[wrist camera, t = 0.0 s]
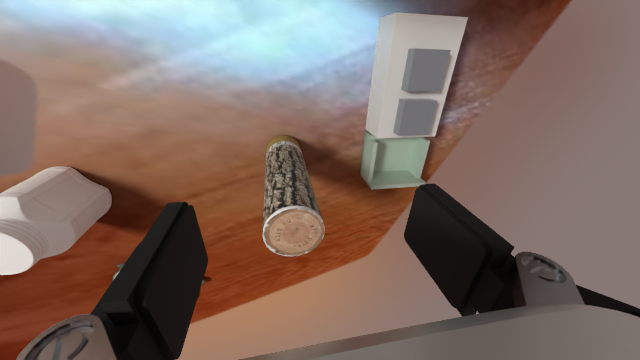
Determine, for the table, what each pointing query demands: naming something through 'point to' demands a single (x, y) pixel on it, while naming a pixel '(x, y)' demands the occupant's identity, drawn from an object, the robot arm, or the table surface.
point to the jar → (47, 216)
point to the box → (393, 161)
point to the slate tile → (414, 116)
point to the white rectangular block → (391, 60)
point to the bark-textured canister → (289, 201)
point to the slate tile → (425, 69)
